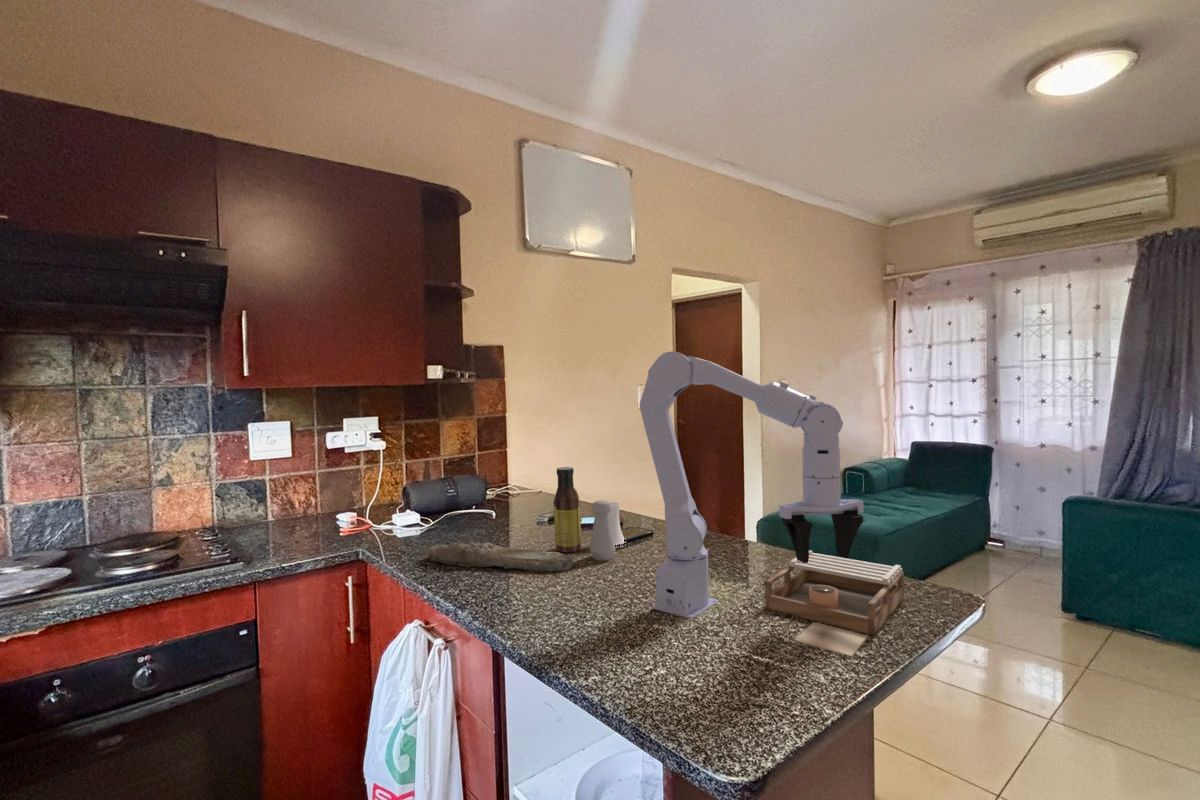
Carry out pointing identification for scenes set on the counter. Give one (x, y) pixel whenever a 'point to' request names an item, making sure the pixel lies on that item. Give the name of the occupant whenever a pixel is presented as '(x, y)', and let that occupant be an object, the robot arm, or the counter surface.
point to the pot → (823, 596)
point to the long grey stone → (499, 557)
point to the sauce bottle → (567, 513)
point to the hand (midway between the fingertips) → (822, 558)
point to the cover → (849, 568)
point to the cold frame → (857, 599)
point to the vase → (616, 525)
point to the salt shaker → (602, 532)
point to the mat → (832, 639)
